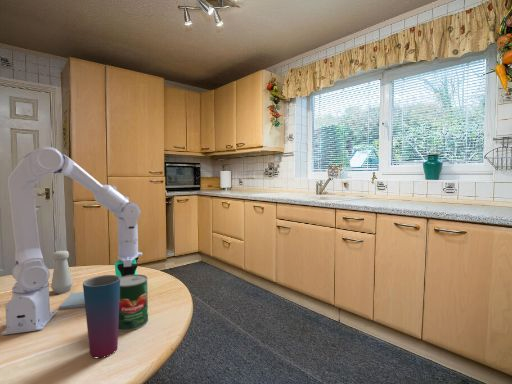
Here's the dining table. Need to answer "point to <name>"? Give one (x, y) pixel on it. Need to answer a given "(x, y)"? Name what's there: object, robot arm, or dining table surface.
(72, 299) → the mat
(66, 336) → the dining table surface
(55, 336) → the dining table surface
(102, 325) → the cup
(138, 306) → the canned tomato
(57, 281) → the salt shaker
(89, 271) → the dining table surface
